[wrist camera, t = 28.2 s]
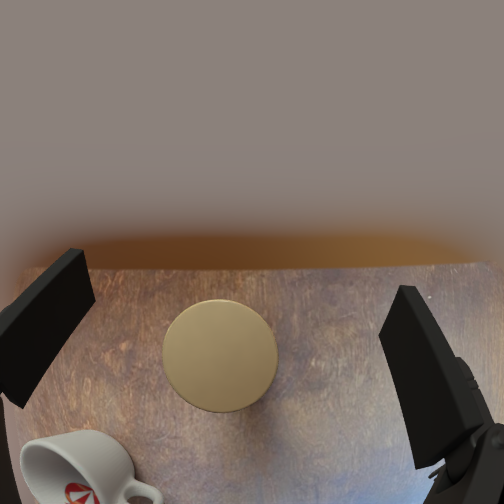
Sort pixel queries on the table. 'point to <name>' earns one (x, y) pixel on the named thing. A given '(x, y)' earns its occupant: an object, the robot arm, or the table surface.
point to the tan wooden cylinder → (220, 356)
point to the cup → (82, 470)
